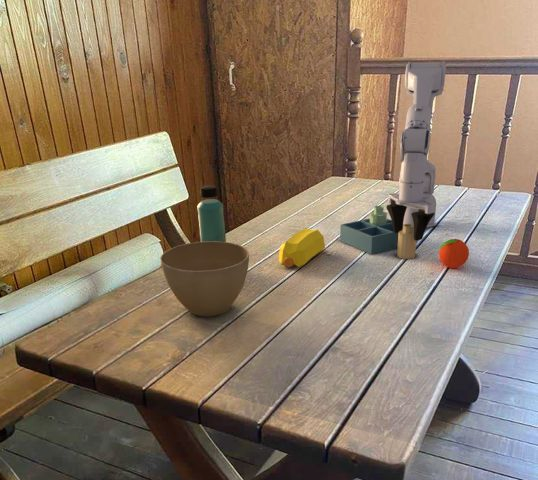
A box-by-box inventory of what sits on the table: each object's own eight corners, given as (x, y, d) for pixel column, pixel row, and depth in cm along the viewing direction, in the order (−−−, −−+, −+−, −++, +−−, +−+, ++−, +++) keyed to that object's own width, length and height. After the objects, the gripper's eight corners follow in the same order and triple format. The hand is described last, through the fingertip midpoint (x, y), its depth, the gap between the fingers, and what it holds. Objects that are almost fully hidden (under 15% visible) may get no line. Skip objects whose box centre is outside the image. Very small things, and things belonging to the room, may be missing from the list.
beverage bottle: (224, 271, 144) (218, 190, 134) (199, 270, 145) (190, 189, 136) (231, 262, 149) (225, 183, 140) (206, 261, 151) (199, 183, 141)
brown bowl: (169, 332, 115) (161, 274, 109) (165, 297, 131) (159, 245, 125) (258, 321, 118) (255, 265, 112) (244, 288, 134) (241, 237, 128)
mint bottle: (378, 231, 166) (380, 203, 162) (388, 235, 162) (390, 207, 158) (365, 234, 164) (367, 206, 160) (376, 238, 160) (377, 210, 156)
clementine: (445, 275, 137) (449, 246, 133) (427, 265, 142) (430, 237, 139) (473, 269, 139) (477, 240, 136) (454, 260, 145) (458, 232, 141)
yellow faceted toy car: (273, 268, 144) (301, 272, 141) (272, 242, 141) (301, 246, 138) (303, 246, 158) (329, 249, 155) (302, 222, 155) (329, 225, 152)
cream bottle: (406, 251, 152) (409, 221, 148) (418, 256, 148) (421, 226, 144) (393, 255, 150) (395, 224, 146) (405, 260, 146) (407, 229, 143)
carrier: (379, 231, 168) (380, 216, 165) (412, 244, 157) (413, 227, 155) (339, 240, 162) (340, 224, 160) (371, 254, 151) (372, 237, 149)
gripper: (379, 178, 144) (376, 231, 150) (420, 189, 133) (415, 246, 139) (401, 174, 147) (398, 226, 153) (443, 184, 136) (437, 240, 142)
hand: (407, 235), depth 146 cm, fingers open, 7 cm apart
